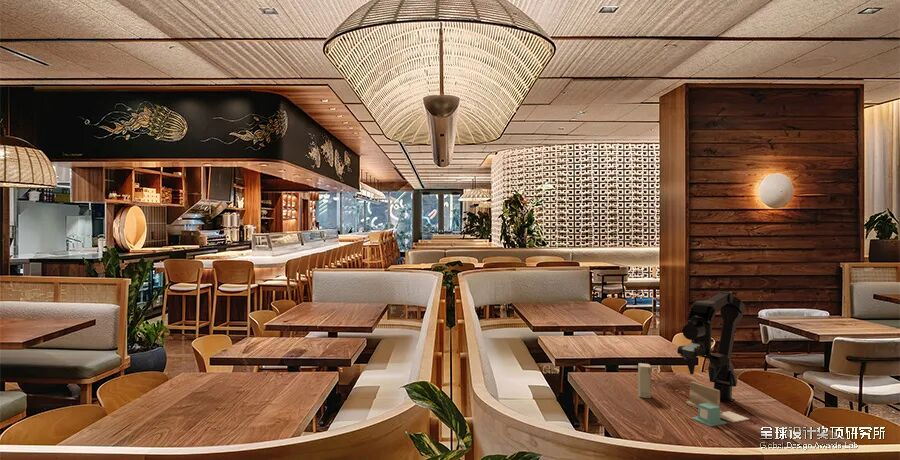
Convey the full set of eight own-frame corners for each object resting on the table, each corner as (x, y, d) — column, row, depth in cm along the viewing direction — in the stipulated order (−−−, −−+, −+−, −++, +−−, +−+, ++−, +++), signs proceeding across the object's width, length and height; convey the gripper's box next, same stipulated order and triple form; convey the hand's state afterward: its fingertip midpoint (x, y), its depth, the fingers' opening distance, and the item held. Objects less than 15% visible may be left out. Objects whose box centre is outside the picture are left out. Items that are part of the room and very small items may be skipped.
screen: (693, 402, 212) (694, 380, 212) (722, 414, 200) (723, 390, 200) (685, 404, 211) (686, 381, 211) (714, 415, 199) (715, 391, 199)
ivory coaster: (729, 412, 203) (729, 411, 203) (749, 419, 195) (749, 418, 195) (713, 414, 199) (713, 413, 199) (733, 422, 192) (733, 421, 192)
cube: (708, 416, 196) (708, 402, 196) (720, 421, 191) (720, 407, 191) (697, 418, 194) (697, 404, 194) (709, 423, 189) (709, 408, 189)
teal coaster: (707, 415, 198) (707, 414, 198) (727, 423, 191) (727, 422, 191) (691, 418, 195) (691, 417, 195) (710, 426, 187) (710, 425, 187)
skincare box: (651, 398, 216) (652, 367, 216) (639, 397, 217) (640, 366, 217) (648, 393, 222) (649, 363, 222) (637, 392, 223) (638, 362, 223)
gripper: (667, 332, 210) (666, 373, 211) (709, 343, 194) (708, 387, 194) (688, 330, 215) (687, 370, 216) (730, 340, 198) (729, 383, 199)
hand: (702, 377), depth 206 cm, fingers open, 9 cm apart
